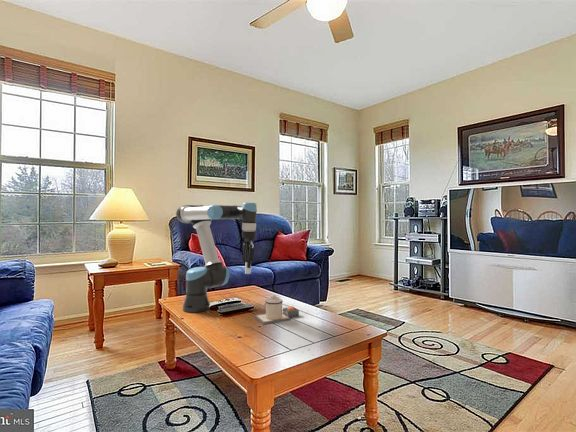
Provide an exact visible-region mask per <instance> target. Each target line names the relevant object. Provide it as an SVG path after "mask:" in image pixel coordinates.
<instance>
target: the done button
mask: <svg viewBox="0 0 576 432" xmlns="http://www.w3.org/2000/svg"><path fill="white" fill-rule="evenodd" d="M286 308H287V310H288V311H291V310H294V306H290V305H289V306H287V307H286Z"/></svg>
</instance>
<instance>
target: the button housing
mask: <svg viewBox="0 0 576 432" xmlns="http://www.w3.org/2000/svg"><path fill="white" fill-rule="evenodd" d="M293 307H294V306H293ZM282 313H283V314H285V315H286V316H288V317H290V318H291V319H292V318H296V317H299V316H300V314H299V313H300V310H299V309H298V308H297V307H294V310H291V311H288V310H287V307H282Z"/></svg>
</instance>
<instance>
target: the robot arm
mask: <svg viewBox="0 0 576 432" xmlns="http://www.w3.org/2000/svg"><path fill="white" fill-rule="evenodd" d="M257 210H258V209H257V203H255V202H243V203H242V205H236V204H235V205H233V204H232V205H221V204H213V205H212V204H211V205H202V204H199V205H197V204H196V205H194V204H186V205H185V204H184V205H181V206H179V207H178V208H177V210H176V212H175V215H176V218H177V220H178V221H179V222H181V223H182V224H191V225H192V228H194V229H195V231H196V233H197V234H196V235H197V236H198V241H199V246H200V249H201V253H202V256H203V260H204V264H205V265H204V266H195V267H191V268H190V269H188V270H187V271H186V273H185V298H184V301H183V303H182V310H183V312H186V313H201V312H205V311H208V310H210V308H209V306H210V307H211V303H210V301H209V297H208V289H212V288H217V287H221V286H224V285H226V284H228V281H229V279H230V270H229V268H228V267H227V266H225V265H224V264H223V263H224V262H222V261H220V259H219V256H218V255H219V254H218V252H217V248H216V244H215V241H214V238H213V237H214V236H213V233H212V230H211V227H210V226H211V225H212V221H213V220H242V223H241V224H242V225H241V230H242V232H241V238H243V239H244V241H243V242H242V251H243V260H244V262H245V263H244V265H245V267H244V268H245V269H244V273H245V274H246V275H249V274H252V262H254V253H255V248H256V244H254V239H256V237H257V231H256V230H257V212H258V211H257Z"/></svg>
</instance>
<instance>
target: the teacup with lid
mask: <svg viewBox="0 0 576 432" xmlns="http://www.w3.org/2000/svg"><path fill="white" fill-rule="evenodd" d="M283 302H284V301H283V299H282V298H279V297H278V296H277V295H276V294H272V296H271V297H269V298H266V300H265V301H264V308H265V314H266V318H267V319H270V320H278V319H281V318H282V313H283Z"/></svg>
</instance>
